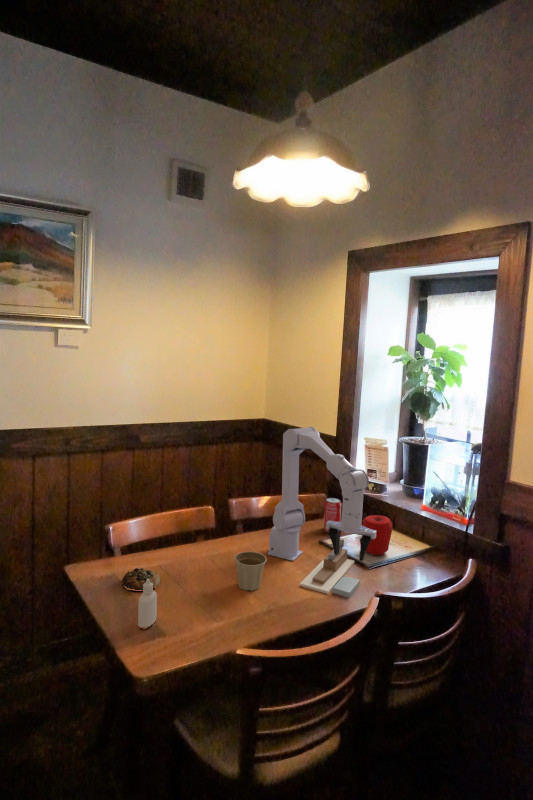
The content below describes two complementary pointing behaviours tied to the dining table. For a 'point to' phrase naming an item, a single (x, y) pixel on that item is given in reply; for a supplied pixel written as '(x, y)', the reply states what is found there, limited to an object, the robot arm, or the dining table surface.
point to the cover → (346, 586)
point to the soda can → (332, 511)
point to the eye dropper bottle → (147, 605)
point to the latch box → (328, 573)
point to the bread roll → (139, 578)
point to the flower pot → (250, 569)
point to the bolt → (332, 556)
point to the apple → (378, 533)
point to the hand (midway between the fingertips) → (349, 556)
